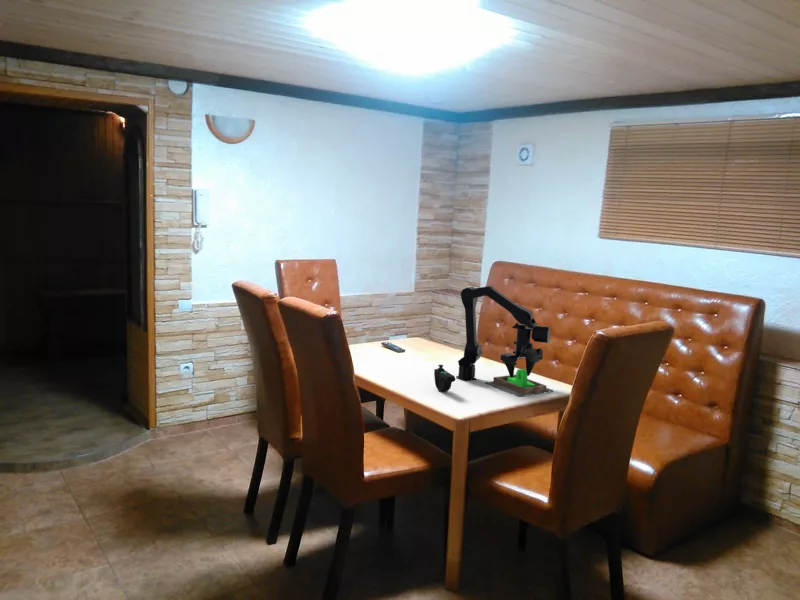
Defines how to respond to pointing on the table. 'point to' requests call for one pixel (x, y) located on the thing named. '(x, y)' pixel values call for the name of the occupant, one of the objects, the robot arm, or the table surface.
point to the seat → (515, 389)
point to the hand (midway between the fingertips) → (519, 376)
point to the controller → (443, 379)
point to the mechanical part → (521, 379)
